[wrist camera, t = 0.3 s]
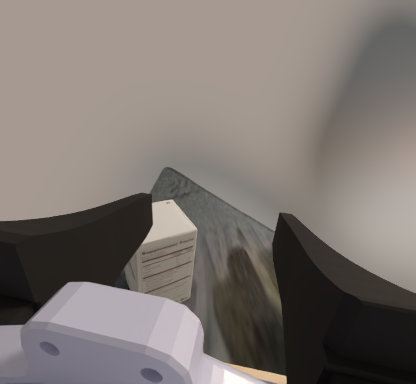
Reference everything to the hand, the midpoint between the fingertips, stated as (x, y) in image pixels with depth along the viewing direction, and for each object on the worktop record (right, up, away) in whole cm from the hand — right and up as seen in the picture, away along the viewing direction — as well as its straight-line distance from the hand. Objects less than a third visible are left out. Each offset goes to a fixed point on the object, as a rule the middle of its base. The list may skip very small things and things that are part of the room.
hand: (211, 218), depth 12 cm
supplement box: (-8, -13, +19) cm, 24 cm away
